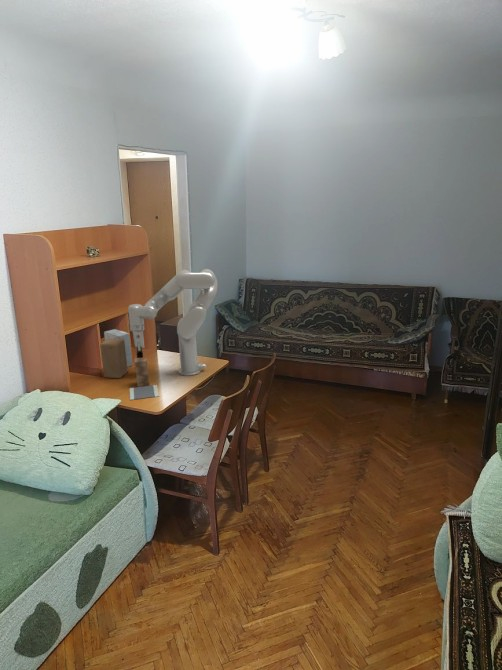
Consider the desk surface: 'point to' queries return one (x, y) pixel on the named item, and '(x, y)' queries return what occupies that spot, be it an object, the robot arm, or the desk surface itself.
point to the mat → (144, 392)
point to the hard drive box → (123, 335)
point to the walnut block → (141, 372)
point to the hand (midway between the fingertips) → (140, 358)
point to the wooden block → (114, 358)
